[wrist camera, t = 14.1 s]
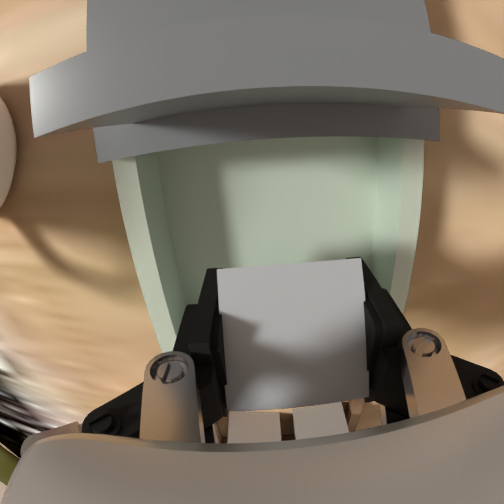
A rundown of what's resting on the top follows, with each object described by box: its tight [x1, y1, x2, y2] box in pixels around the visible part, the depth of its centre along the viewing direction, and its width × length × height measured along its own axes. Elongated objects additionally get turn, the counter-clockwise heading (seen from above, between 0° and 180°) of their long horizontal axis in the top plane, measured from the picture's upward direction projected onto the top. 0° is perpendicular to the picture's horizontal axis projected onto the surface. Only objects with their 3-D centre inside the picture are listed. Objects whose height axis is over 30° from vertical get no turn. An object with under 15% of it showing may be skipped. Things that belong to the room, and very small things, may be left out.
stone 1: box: [227, 411, 281, 443], centre depth 20 cm, size 4×4×6 cm
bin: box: [112, 136, 424, 353], centre depth 13 cm, size 12×12×4 cm
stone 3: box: [292, 402, 349, 440], centre depth 19 cm, size 4×4×6 cm
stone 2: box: [217, 258, 369, 411], centre depth 11 cm, size 4×4×6 cm
